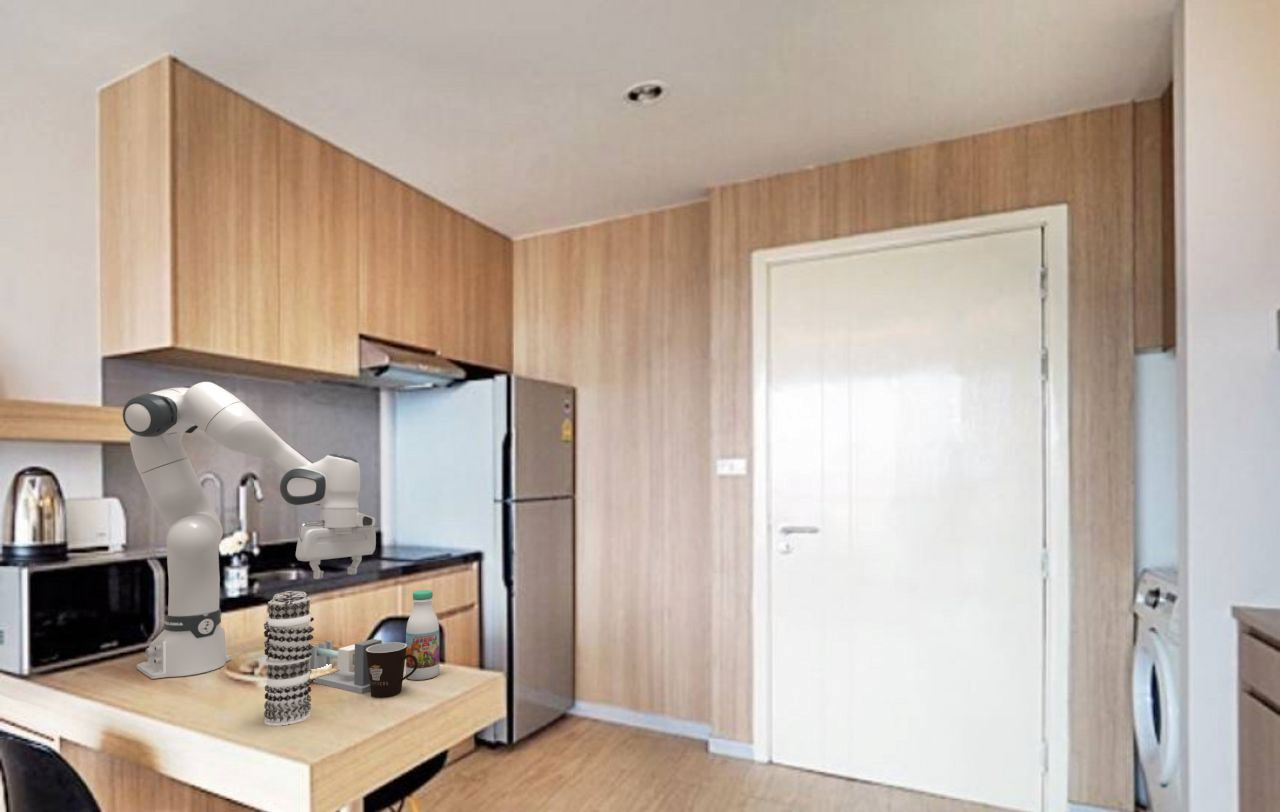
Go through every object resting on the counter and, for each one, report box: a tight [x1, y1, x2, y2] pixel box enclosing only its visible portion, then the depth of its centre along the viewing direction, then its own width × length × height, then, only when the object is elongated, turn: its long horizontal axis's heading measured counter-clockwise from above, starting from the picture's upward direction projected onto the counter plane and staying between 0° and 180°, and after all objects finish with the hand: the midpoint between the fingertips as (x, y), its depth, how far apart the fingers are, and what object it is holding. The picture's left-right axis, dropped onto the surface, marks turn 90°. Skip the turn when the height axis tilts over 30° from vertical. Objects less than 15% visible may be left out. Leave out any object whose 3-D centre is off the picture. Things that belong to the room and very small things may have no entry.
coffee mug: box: [366, 641, 418, 699], centre depth 156 cm, size 12×9×10 cm
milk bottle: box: [405, 589, 440, 681], centre depth 169 cm, size 8×8×20 cm
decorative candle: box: [263, 590, 315, 727], centre depth 143 cm, size 9×9×25 cm
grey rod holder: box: [308, 638, 383, 695], centre depth 165 cm, size 22×7×10 cm, turn 59°
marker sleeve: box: [337, 643, 356, 672], centre depth 164 cm, size 4×5×5 cm
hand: (335, 576), depth 173 cm, fingers open, 8 cm apart
